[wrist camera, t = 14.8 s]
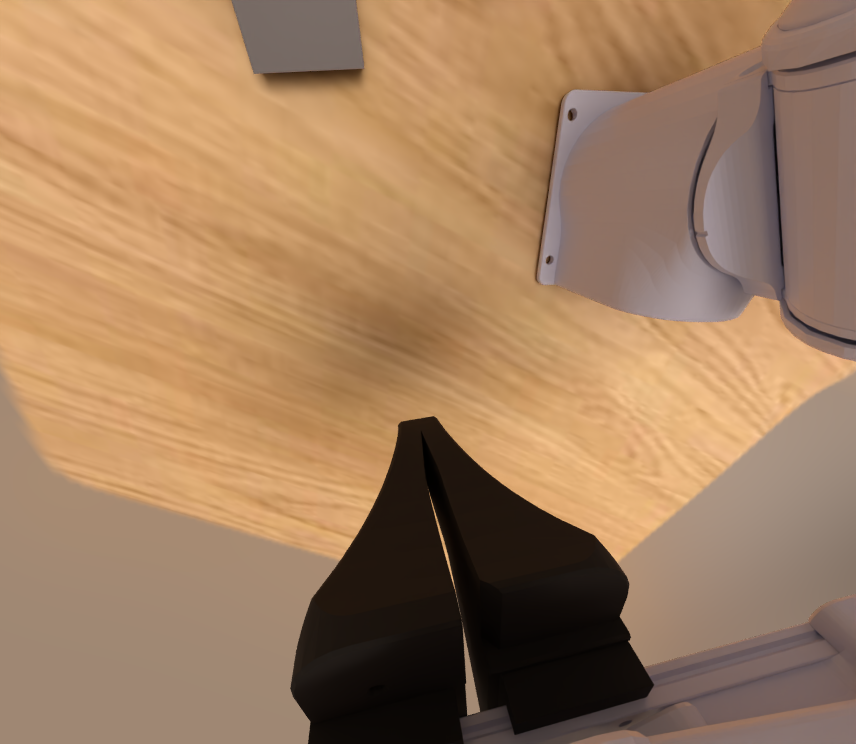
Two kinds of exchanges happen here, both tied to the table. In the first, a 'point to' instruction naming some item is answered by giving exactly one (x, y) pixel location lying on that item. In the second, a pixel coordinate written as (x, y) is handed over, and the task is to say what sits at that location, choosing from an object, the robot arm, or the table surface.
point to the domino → (300, 34)
